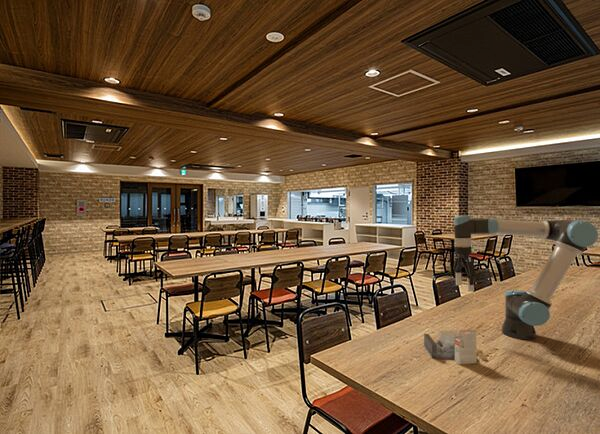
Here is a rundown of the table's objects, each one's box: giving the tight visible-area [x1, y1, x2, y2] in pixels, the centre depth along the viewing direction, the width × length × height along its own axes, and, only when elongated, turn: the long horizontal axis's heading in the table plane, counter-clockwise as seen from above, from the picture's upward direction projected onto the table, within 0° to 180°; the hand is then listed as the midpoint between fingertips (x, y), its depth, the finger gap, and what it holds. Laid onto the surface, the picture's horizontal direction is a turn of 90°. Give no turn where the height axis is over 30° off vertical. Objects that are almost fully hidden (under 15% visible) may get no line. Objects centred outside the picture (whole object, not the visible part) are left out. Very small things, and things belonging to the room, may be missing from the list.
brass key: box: [476, 349, 488, 362], centre depth 149 cm, size 8×4×1 cm, turn 174°
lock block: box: [437, 330, 460, 351], centre depth 153 cm, size 9×6×7 cm
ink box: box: [454, 329, 477, 365], centre depth 143 cm, size 4×8×15 cm, turn 96°
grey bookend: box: [423, 333, 455, 360], centre depth 153 cm, size 18×13×6 cm
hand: (464, 288), depth 168 cm, fingers open, 13 cm apart
